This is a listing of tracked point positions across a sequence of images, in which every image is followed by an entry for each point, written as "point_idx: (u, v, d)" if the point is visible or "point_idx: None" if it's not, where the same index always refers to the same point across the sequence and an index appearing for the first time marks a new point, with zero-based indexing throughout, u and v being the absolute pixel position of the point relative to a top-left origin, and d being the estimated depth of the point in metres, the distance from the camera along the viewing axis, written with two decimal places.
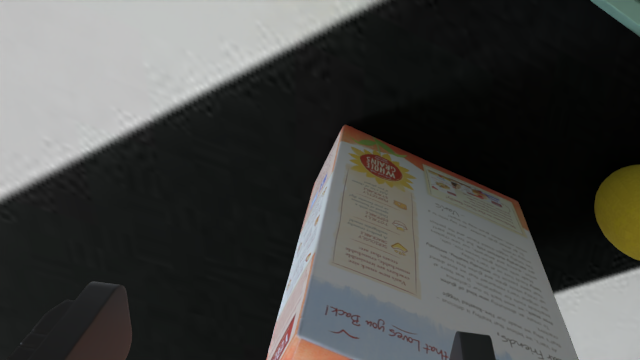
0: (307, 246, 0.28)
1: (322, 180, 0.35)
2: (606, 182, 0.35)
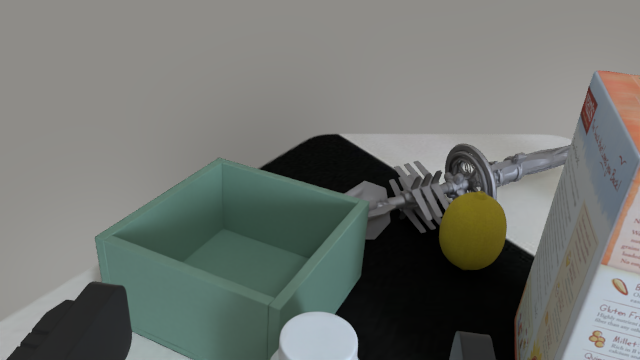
0: (624, 321, 0.25)
1: None
2: (463, 258, 0.46)
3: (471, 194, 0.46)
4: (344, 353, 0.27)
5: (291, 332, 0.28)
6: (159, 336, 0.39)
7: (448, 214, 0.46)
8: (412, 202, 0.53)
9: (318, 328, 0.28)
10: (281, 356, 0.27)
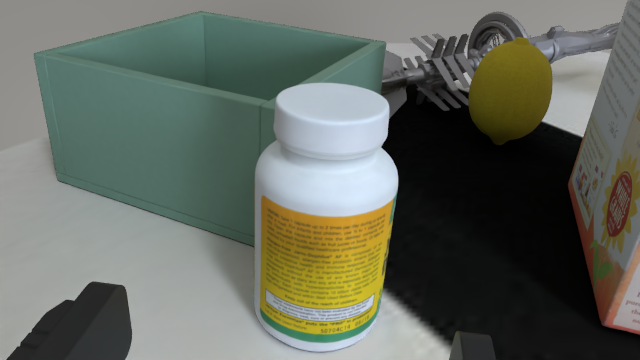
0: None
1: None
2: (501, 120, 0.37)
3: (509, 42, 0.38)
4: (372, 111, 0.18)
5: (292, 95, 0.19)
6: (120, 190, 0.30)
7: (481, 67, 0.38)
8: (433, 75, 0.44)
9: (331, 94, 0.20)
10: (278, 120, 0.18)
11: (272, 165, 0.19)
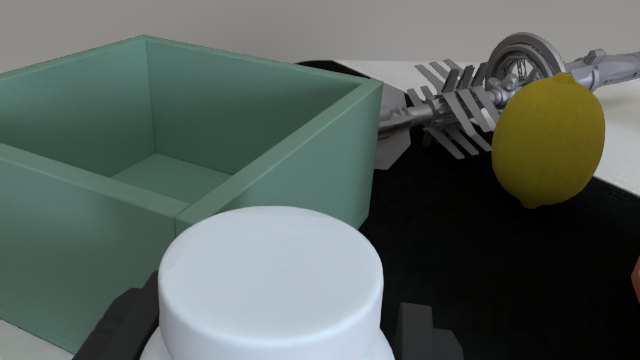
0: None
1: None
2: (536, 182, 0.28)
3: (547, 78, 0.28)
4: (347, 300, 0.09)
5: (196, 248, 0.10)
6: None
7: (509, 111, 0.29)
8: (443, 113, 0.35)
9: (274, 239, 0.10)
10: (161, 311, 0.09)
11: None
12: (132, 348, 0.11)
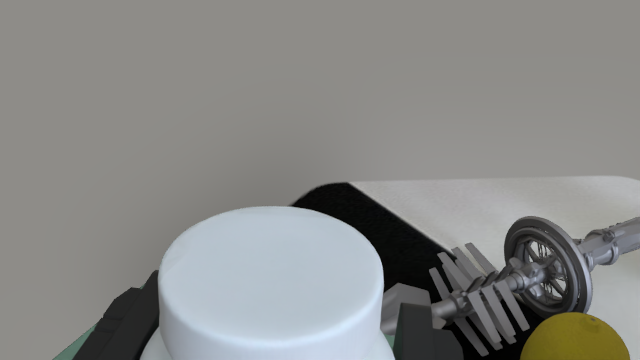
0: None
1: None
2: None
3: (574, 320, 0.29)
4: (347, 300, 0.09)
5: (196, 249, 0.10)
6: None
7: (537, 350, 0.29)
8: (468, 310, 0.35)
9: (274, 240, 0.10)
10: (161, 312, 0.09)
11: None
12: (132, 348, 0.11)
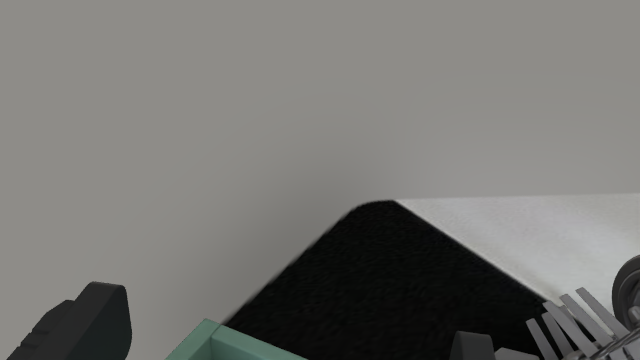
0: None
1: None
2: None
3: None
4: None
5: None
6: None
7: None
8: None
9: None
10: None
11: None
12: None
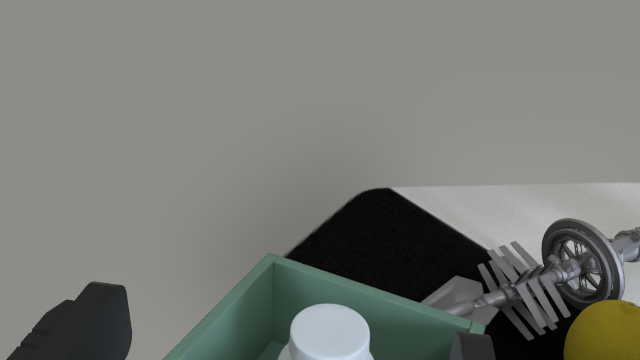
0: None
1: None
2: None
3: (615, 306, 0.34)
4: (357, 344, 0.26)
5: (302, 324, 0.27)
6: None
7: (583, 331, 0.34)
8: (515, 300, 0.41)
9: (329, 320, 0.28)
10: (292, 348, 0.27)
11: None
12: None
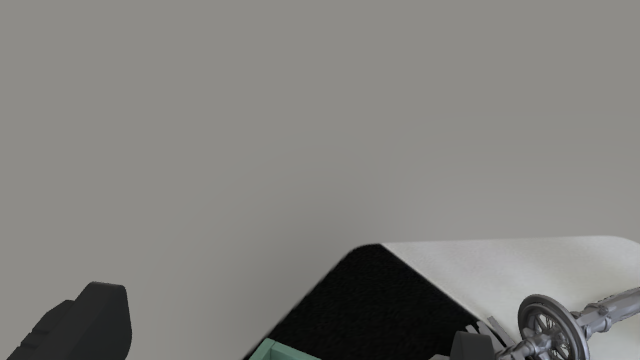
0: None
1: None
2: None
3: None
4: None
5: None
6: None
7: None
8: None
9: None
10: None
11: None
12: None
